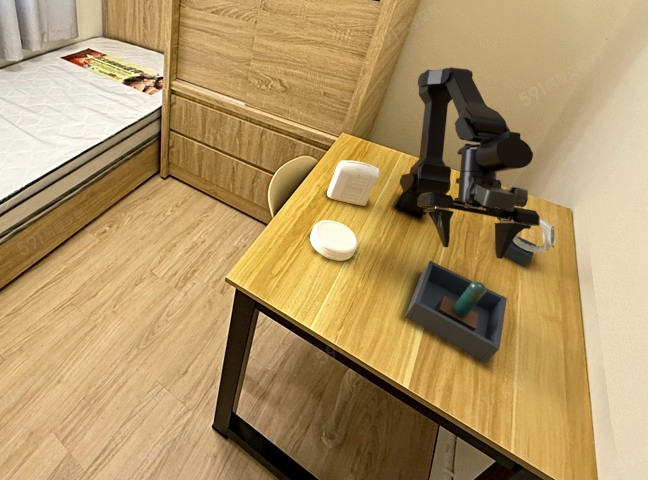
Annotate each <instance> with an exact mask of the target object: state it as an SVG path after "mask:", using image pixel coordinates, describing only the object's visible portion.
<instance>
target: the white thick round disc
mask: <svg viewBox="0 0 648 480" xmlns="http://www.w3.org/2000/svg"><path fill="white" fill-rule="evenodd" d="M309 238H310V244H311V245H312V247H313V249H314V250H315V251H316V252H317V253H318V254H320V255H321V256H323V257H324V258H327V259H329V260H332V261H338V262H340V261H341V262H343V261H348V260H349V259H351V258H352V257H354V254H355V252H356V250H357V248H358V242H359V241H358V238H357V236H356V234H355V233H354V231H353V230H352V229H350V228H349V227H348V226H347V225H345V224H343V223H341V222H338V221H335V220H328V219H325V220H320V221H318V222H316V224H314V225H313V228H312V230H311V233H310V237H309Z"/></svg>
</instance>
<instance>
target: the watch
mask: <svg viewBox="0 0 648 480" xmlns="http://www.w3.org/2000/svg"><path fill="white" fill-rule="evenodd" d="M539 227H541V229H542V231H541V235H542V236H541V238H542V243H543V244H542V245H537V244H535V243H533V242H532V241H529V240H527V239H525V238H522V237H521V236H518V234H517V235H516V236H515V238H514V239H513V240H512V242H511V244H510V246H509V247H508V249H507V251H506V253H505V254H504V256H503V258H506V259H509V260H511V261H512V262H515V263H516V264H519V266H522V267H526V266H527V265H528V263H529V262H530V261H531V259H532V258H533V256H534V254H535V253H544V252H548V251H550V249H554V248H555V245H556V230H555V227H554V225H552V224H550V223H549V222H548V221H547V220H545V219H542V218H540V226H539Z"/></svg>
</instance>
